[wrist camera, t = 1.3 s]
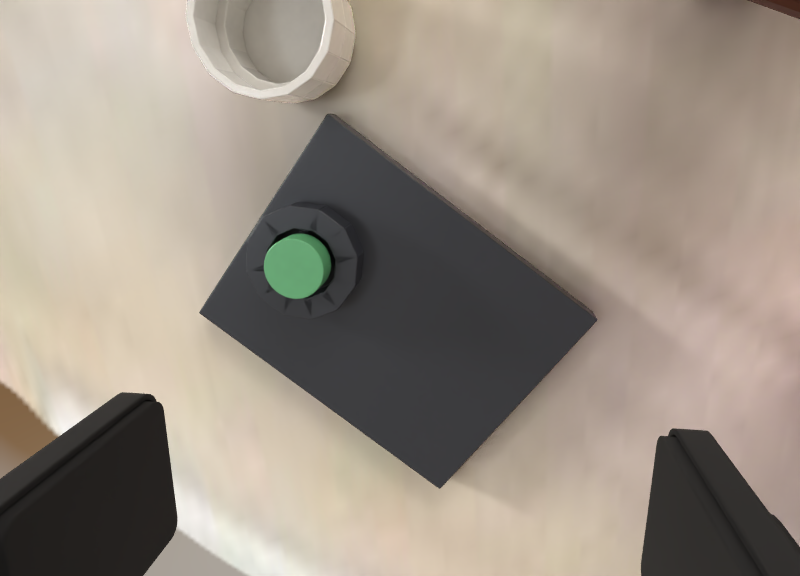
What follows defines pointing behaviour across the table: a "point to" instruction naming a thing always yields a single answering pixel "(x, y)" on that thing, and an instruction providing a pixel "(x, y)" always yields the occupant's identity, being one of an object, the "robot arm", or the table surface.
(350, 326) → the scale
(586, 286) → the table surface
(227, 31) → the bowl
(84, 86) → the table surface
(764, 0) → the ice cream bowl
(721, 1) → the table surface
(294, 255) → the button
